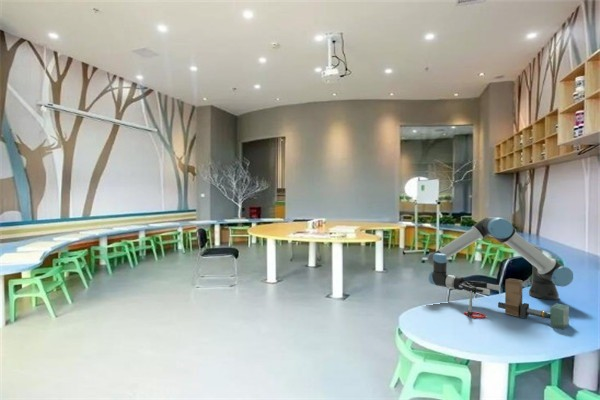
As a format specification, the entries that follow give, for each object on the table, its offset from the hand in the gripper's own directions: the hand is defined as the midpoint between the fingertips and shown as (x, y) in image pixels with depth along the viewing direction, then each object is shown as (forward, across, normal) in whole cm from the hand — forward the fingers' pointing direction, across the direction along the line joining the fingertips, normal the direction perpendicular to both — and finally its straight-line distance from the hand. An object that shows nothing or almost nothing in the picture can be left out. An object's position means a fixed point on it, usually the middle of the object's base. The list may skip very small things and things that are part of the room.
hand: (494, 290), depth 185 cm
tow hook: (-3, +17, -11) cm, 21 cm away
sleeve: (+9, 0, -11) cm, 14 cm away
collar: (+14, 0, -11) cm, 18 cm away
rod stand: (+17, 0, -11) cm, 20 cm away
